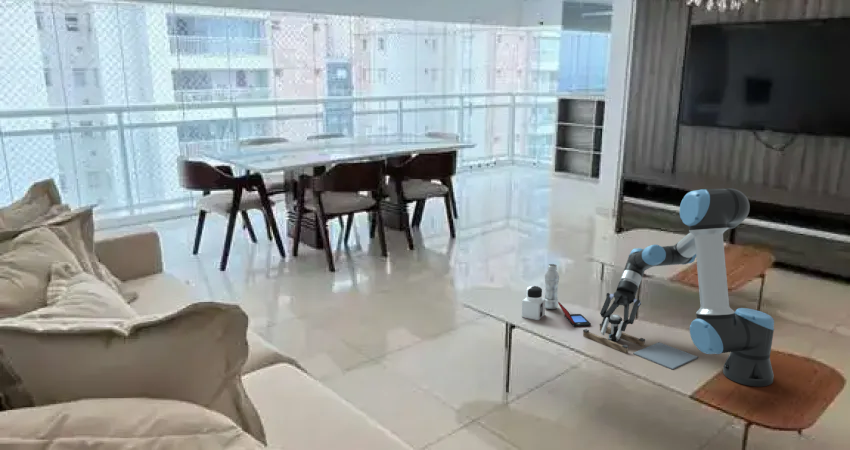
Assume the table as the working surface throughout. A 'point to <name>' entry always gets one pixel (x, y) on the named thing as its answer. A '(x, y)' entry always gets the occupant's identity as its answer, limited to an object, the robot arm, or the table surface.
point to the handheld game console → (575, 318)
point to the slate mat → (665, 355)
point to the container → (533, 303)
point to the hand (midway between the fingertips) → (609, 335)
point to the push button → (614, 326)
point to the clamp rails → (610, 343)
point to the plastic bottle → (551, 287)
